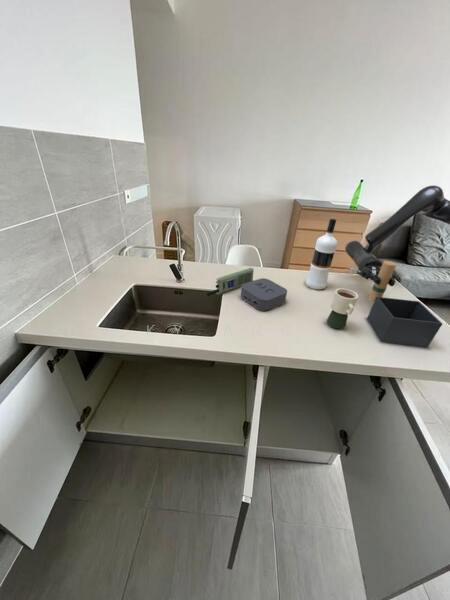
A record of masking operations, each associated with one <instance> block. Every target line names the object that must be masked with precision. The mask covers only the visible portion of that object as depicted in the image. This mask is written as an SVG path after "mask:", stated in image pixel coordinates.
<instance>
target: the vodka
mask: <svg viewBox="0 0 450 600" xmlns="http://www.w3.org/2000/svg"><path fill="white" fill-rule="evenodd" d="M337 220H338V219H336V218H329V222H328V224H327V228H326V232H325V234H324V235H322V236H319V237H318V238H317V239H316V242H315V245H314V252H313V255H312V259H311V263H310V268H309V271H308V274H307V277H306V278H305V281H304V282H305V285H306V286H307V287H308V288H310V289H313V290H317V291H318V290H324V289H325V288H326V287H327V285H328V278H329V273H330V270H331V269H332V263H333V260H334V256H335V253H336V251H337V247H338V240H337V239H336V238H335V237H334V236H333V234H334V231H335V227H336V223H337Z"/></svg>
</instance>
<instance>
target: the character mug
mask: <svg viewBox="0 0 450 600" xmlns="http://www.w3.org/2000/svg"><path fill="white" fill-rule="evenodd" d="M358 299H359V294H358V293H357V292H356V291H354V290H351V289H349V288H343V287H341V288H336V289H335V291H334V294H333V298H332V300H331V303H330V309H331V311H330V313H329V315H328V316H327V319H326V323H327V325H328V326H330V327H332V328H335V329H339V330H340V329H341V330H344V329H345V328H346V326H347V324H348V323H347V322H348V318H349V316H350V315H352V314H353V312H354V310H355V309H354V308H355V307H356V304H357V303H358V302H357V301H358Z"/></svg>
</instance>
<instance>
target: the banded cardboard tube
mask: <svg viewBox="0 0 450 600" xmlns="http://www.w3.org/2000/svg"><path fill="white" fill-rule="evenodd" d="M396 267H397V263H396V262H394V261H390V260H384V261H382V267H381V269H380V272H379V274H378V277H379V278H380V279H381V282H380V285H377V284H376V283H373V285H372V286H371V287H372V288H371V292H370V293H369V296H368V300H370V301H371V302H373V303H374V301H375V299H376V297H383V296H384V294H385V292H386V291H387V287H388V286H389V284H388V283H389V280H390V278H391V276H392V274H393V271H395V269H396Z"/></svg>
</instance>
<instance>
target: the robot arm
mask: <svg viewBox="0 0 450 600" xmlns="http://www.w3.org/2000/svg"><path fill="white" fill-rule="evenodd" d="M444 194H445V193H444V191H443V189H442V187H441V186H438V185H427V186H425V187H423V188H422V189H419V190H418V192H416V193H415V194H414V195H413V196H412V197H411V198H410V199H409V200H407V201H406V202H405V203H404V204H403V205H402V206H401V207H400V208H399V209H398V210H397V211H396V212H394V213H393V214H392V215H391V216H390V217H388V218H387V219H386V220H385V221H384V222H382V223H381V224H379V225H378V226H377V227H375V228H374V229H372V230H371V231H370V232H368V233H367V234H366V235H365V236H364V239H365V241H366V245H365V246H364V245H363V244H362V243H361V242H360V241H358V240H351V241H349V242H347V243H346V245H345V248H344V251H345V253H346V254H347V255H348V257H349V258H350V259H351V261H353V262H354V263H355V265H356V267H357V268H358V269H357V271H356V274H357V275H359V276H360V277H362V278H363V279H365V280H370V281H372V282H373V284H375V283H376V284H377V285H380V282H381V279H380V278H379V277H378V274H379V272H380V269H381V267H382V264H383V261H381V260H380V259H379V258H377V256H375V255H374V254H372V252H373V251H374V250H376V248H377V247H378V246H380V245H382V244H383V243H384V242H386V241H387V240H389V239H390V238H391V237H393V236H394V235H395V234H396V233H397V232H398V231H399V230H400V229H401V227H402V226H403V225H405V224H406V223H407V222H408V221H409V220H410V219H412V218H413V217H414V216H416V215H417V214H419V215H420V216H424V217H427V218H430V219H433V220H437V221H440V222H442V223H445V224H447V225H449V226H450V200H449V199H447V198H446V197H445V195H444ZM397 277H398V275H397V272H396V270H394V271H393V274H392V276H391V278H390V280H389V283H388V286H390V287H394V286H395V284H396V278H397Z"/></svg>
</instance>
